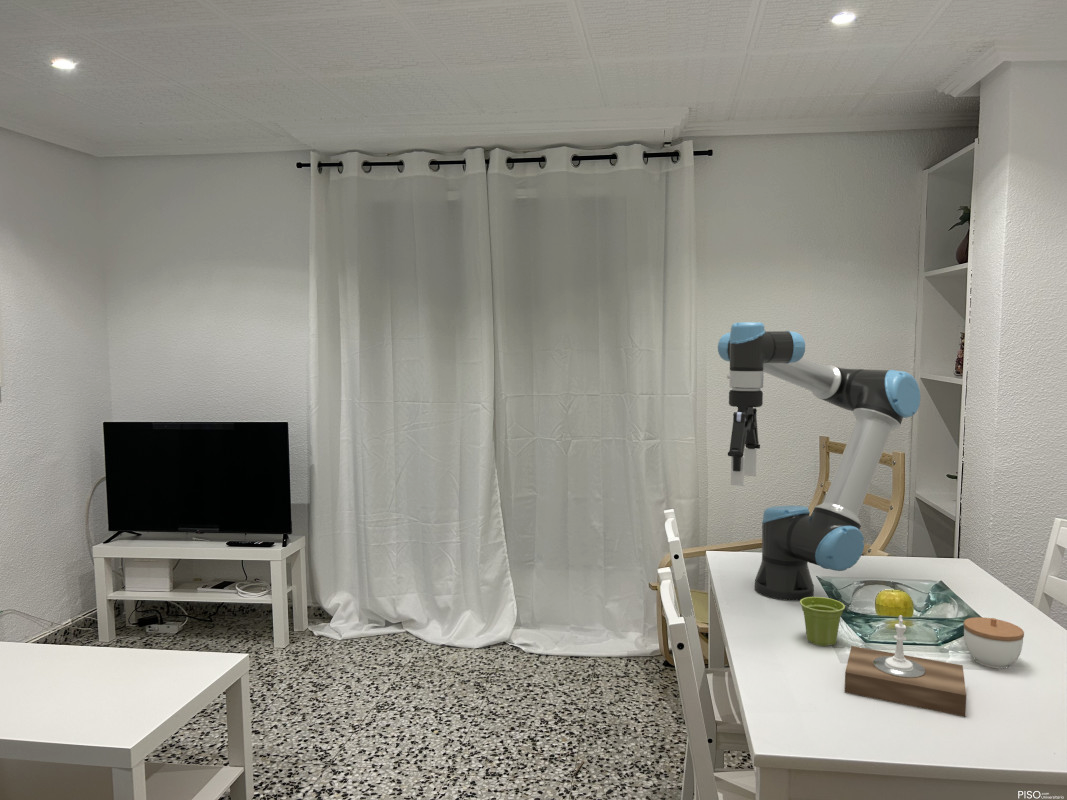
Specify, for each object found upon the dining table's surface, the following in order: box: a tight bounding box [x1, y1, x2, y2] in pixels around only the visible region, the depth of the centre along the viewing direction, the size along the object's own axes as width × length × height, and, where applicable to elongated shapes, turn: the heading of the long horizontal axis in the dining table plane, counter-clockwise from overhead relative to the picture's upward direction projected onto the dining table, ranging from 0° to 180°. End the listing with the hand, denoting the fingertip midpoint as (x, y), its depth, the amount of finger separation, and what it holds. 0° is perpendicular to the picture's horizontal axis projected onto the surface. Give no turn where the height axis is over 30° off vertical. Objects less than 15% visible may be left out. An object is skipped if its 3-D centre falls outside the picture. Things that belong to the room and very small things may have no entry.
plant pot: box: [799, 596, 846, 647], centre depth 166 cm, size 9×9×9 cm
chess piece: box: [885, 615, 913, 672], centre depth 143 cm, size 5×5×10 cm
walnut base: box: [844, 645, 967, 718], centre depth 143 cm, size 14×20×4 cm
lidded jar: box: [963, 616, 1025, 670], centre depth 155 cm, size 11×11×9 cm
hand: (743, 480), depth 173 cm, fingers open, 13 cm apart
